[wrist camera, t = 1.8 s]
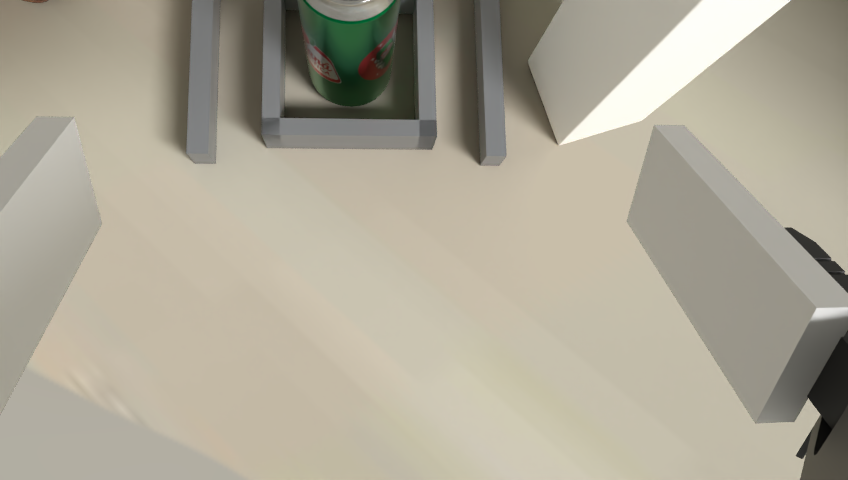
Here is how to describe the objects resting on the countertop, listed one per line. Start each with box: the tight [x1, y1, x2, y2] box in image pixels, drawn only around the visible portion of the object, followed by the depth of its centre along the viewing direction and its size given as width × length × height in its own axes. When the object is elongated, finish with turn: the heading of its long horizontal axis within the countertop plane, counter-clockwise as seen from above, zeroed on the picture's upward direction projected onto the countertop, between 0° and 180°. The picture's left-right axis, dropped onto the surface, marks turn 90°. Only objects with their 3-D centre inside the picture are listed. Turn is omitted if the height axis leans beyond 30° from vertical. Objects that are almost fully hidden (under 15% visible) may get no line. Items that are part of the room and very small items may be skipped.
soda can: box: [297, 0, 401, 107], centre depth 35 cm, size 5×5×12 cm
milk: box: [528, 0, 791, 145], centre depth 32 cm, size 6×6×22 cm
